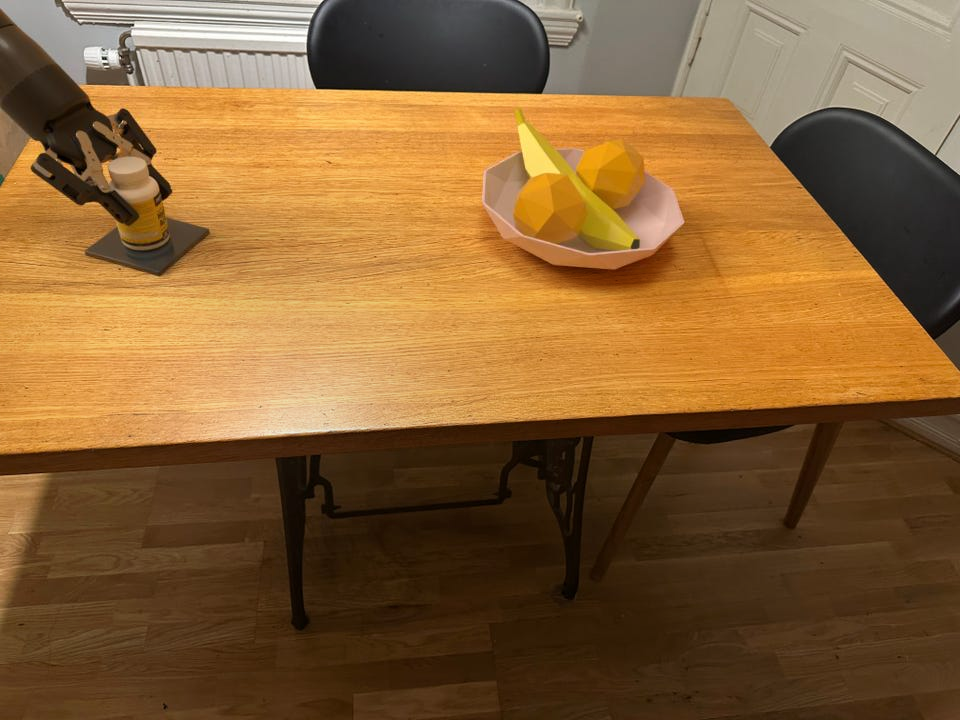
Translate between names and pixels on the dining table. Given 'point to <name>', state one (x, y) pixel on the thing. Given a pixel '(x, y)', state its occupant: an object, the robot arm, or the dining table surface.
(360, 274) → the dining table surface
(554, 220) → the fruit bowl
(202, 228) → the coaster
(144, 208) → the supplement bottle
